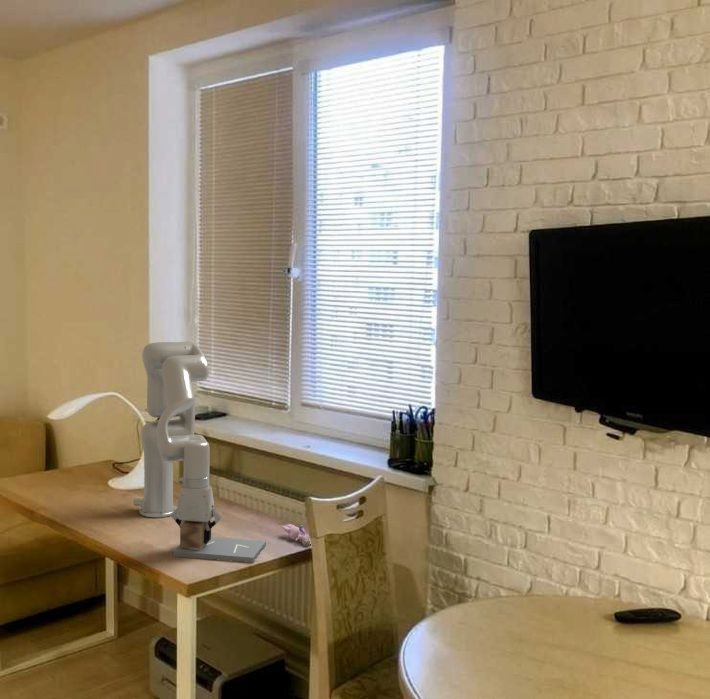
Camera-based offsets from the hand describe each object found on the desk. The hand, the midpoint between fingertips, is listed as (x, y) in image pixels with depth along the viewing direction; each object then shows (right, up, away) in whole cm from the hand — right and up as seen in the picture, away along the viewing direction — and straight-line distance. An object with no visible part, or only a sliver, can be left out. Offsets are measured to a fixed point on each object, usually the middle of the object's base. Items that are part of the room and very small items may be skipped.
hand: (195, 540), depth 231 cm
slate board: (+7, -3, -1) cm, 8 cm away
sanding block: (0, -1, 0) cm, 1 cm away
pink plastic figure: (+30, -3, +10) cm, 31 cm away
